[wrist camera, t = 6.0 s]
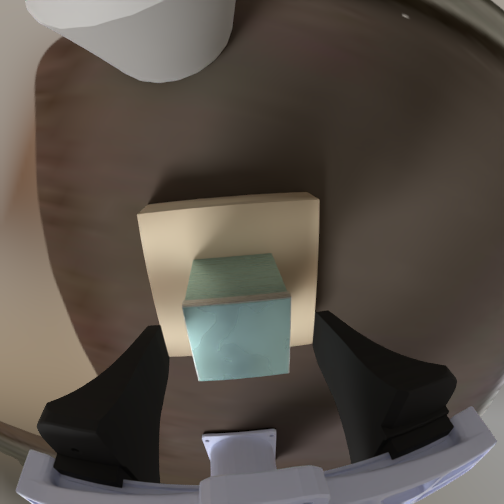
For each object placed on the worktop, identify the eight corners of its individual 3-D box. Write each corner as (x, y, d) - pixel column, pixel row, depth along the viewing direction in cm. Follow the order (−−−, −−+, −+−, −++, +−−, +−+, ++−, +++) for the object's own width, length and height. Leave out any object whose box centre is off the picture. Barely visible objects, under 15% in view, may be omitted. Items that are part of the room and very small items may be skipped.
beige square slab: (301, 319, 22) (312, 343, 19) (173, 331, 21) (168, 356, 18) (304, 190, 18) (319, 199, 15) (149, 202, 17) (137, 214, 15)
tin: (273, 317, 18) (289, 373, 13) (202, 324, 18) (198, 381, 13) (272, 252, 16) (291, 297, 12) (192, 258, 16) (181, 307, 11)
